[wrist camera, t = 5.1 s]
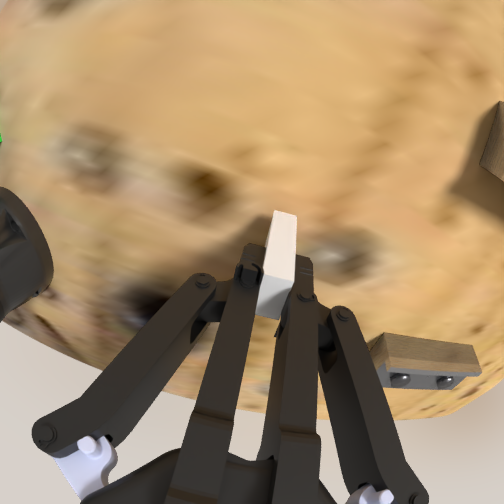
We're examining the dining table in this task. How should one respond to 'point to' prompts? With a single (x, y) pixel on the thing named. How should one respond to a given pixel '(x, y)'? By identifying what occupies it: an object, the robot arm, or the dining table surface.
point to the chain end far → (422, 362)
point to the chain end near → (495, 146)
